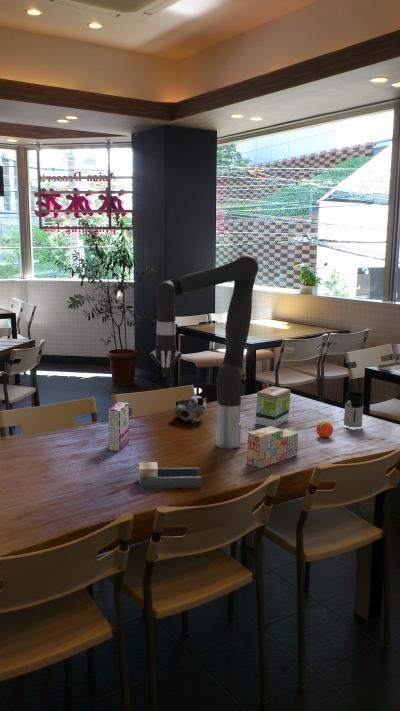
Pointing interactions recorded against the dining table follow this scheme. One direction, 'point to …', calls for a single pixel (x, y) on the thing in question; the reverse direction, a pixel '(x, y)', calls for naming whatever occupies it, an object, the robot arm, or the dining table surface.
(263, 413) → the tea box
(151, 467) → the birch block
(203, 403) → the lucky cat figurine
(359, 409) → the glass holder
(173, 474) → the chute
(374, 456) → the dining table surface
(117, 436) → the candy bar box
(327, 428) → the clementine
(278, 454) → the stack of blocks
